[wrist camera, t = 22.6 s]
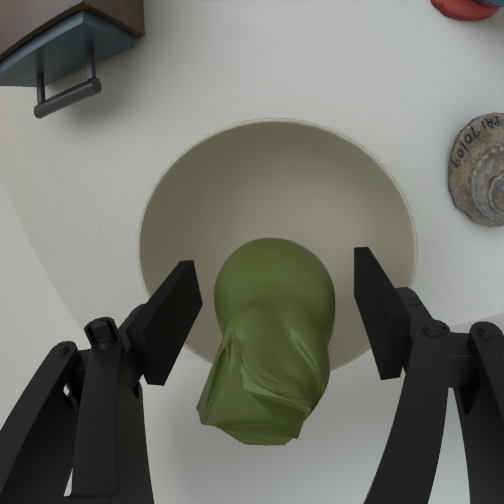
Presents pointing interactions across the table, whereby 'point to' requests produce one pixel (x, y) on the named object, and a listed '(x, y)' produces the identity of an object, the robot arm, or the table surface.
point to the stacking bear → (468, 8)
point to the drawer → (64, 58)
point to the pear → (269, 342)
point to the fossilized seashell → (479, 170)
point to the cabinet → (61, 17)
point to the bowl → (277, 216)
